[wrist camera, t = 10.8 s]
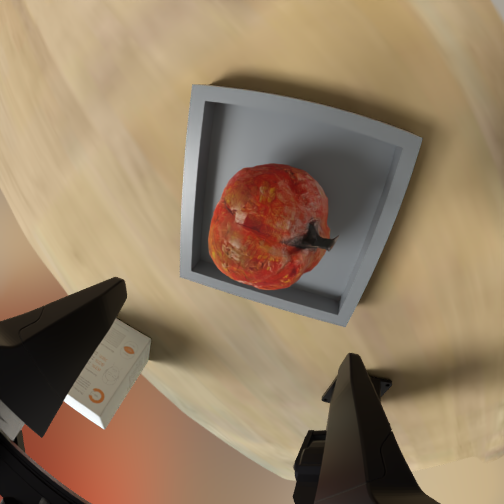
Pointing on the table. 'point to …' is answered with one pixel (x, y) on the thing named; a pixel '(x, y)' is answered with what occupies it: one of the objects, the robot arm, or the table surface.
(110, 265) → the table surface
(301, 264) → the pomegranate
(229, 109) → the tray
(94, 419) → the small box
